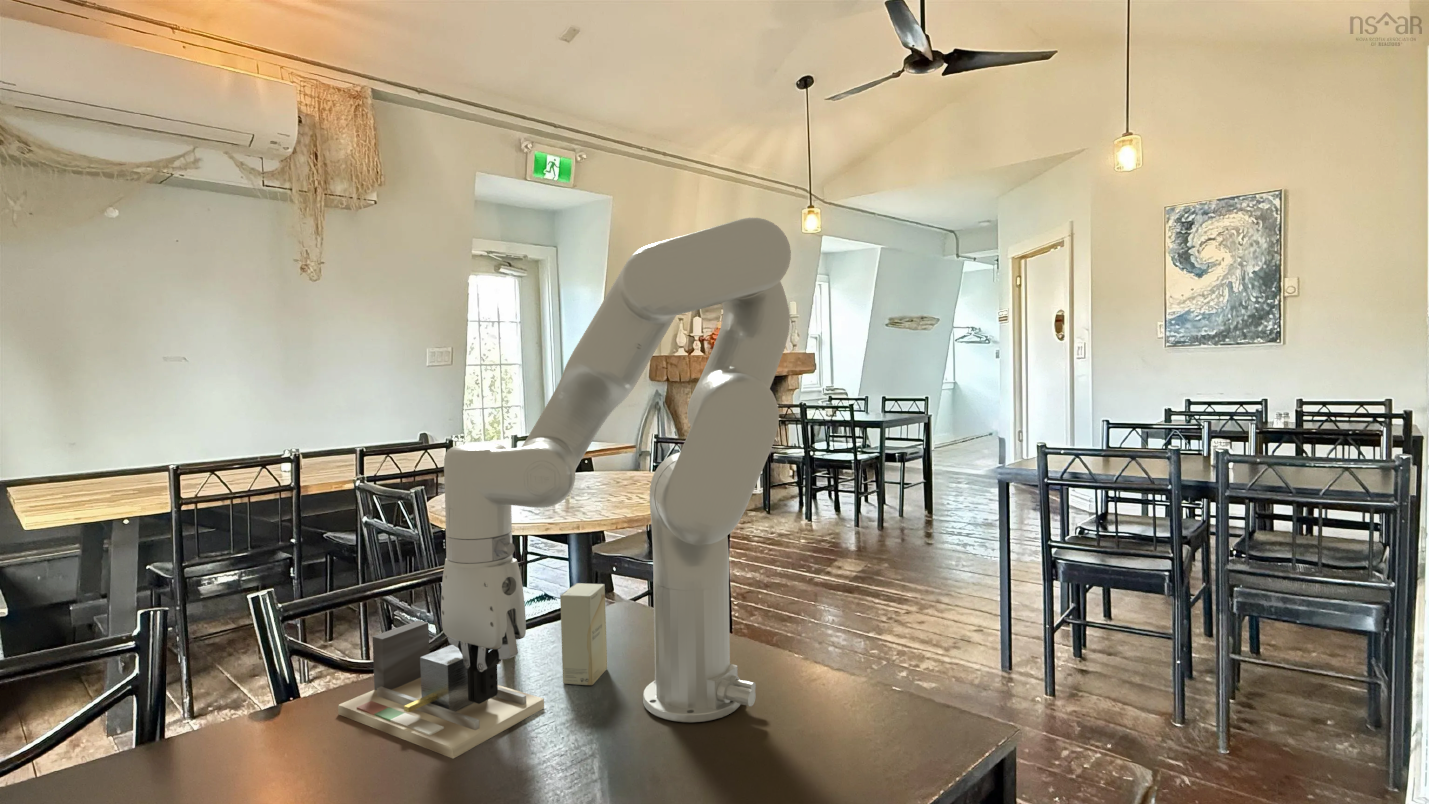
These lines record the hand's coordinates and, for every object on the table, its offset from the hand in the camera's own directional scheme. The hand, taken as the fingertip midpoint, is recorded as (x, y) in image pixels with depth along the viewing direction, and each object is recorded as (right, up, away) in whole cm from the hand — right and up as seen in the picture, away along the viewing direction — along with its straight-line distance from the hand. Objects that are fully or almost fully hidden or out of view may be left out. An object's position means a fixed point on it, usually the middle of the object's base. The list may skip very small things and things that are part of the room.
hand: (483, 697), depth 93 cm
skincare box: (+10, -2, +13) cm, 17 cm away
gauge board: (-6, -3, +3) cm, 7 cm away
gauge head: (-5, -2, +1) cm, 6 cm away
